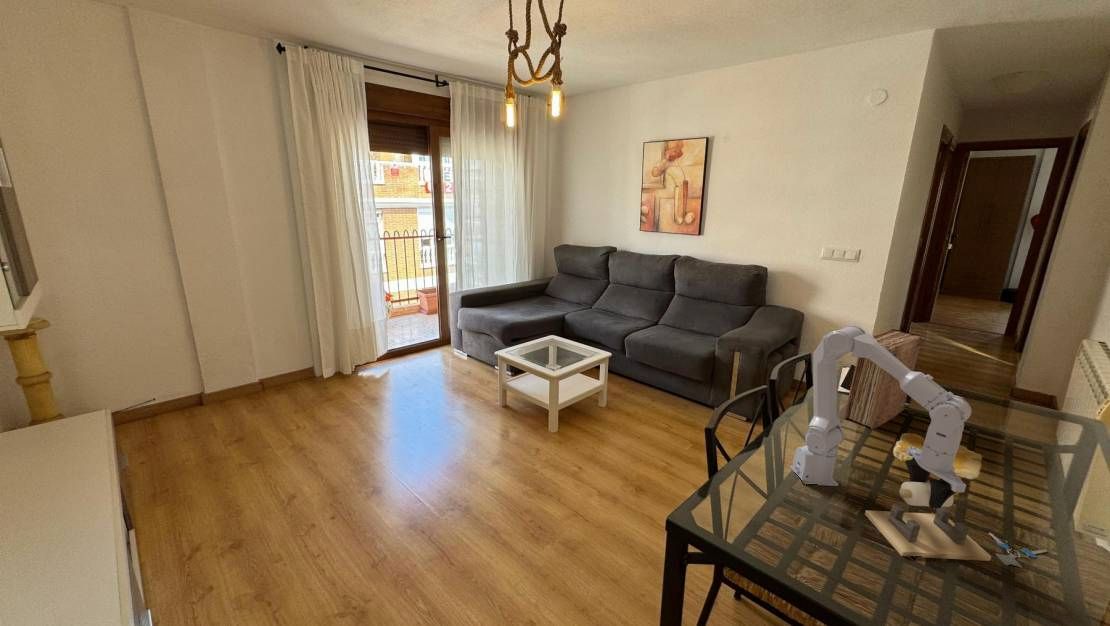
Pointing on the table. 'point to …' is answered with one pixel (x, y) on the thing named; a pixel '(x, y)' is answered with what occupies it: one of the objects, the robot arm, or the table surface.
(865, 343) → the robot arm
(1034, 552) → the key chain
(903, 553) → the roll holder
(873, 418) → the brown upright rectangular block
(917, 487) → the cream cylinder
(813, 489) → the table surface
